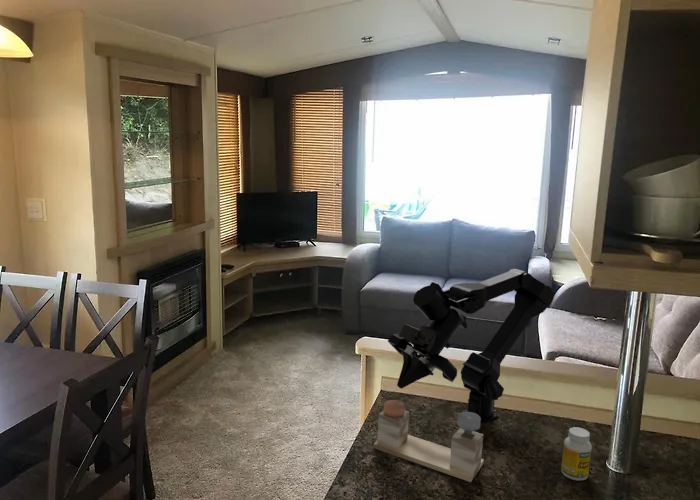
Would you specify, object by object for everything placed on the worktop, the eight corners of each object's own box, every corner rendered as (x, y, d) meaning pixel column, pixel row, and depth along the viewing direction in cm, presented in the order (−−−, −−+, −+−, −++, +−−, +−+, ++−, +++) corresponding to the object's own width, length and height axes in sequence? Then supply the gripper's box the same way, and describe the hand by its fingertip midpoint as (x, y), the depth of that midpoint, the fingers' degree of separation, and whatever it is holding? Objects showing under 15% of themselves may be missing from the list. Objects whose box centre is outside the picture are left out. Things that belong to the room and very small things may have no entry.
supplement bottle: (571, 464, 122) (576, 422, 120) (593, 476, 118) (599, 434, 116) (555, 471, 119) (560, 429, 117) (577, 484, 115) (583, 441, 113)
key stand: (390, 432, 132) (391, 402, 131) (483, 463, 121) (486, 431, 119) (373, 447, 126) (374, 416, 124) (470, 482, 114) (473, 448, 113)
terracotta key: (389, 411, 129) (390, 398, 129) (407, 417, 127) (408, 403, 126) (379, 420, 126) (380, 405, 125) (398, 425, 123) (399, 411, 123)
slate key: (461, 424, 120) (462, 409, 120) (482, 430, 118) (483, 415, 117) (453, 433, 117) (454, 418, 116) (474, 440, 114) (476, 424, 114)
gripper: (395, 300, 133) (355, 353, 129) (451, 323, 117) (406, 384, 114) (420, 327, 139) (381, 378, 135) (475, 352, 123) (433, 411, 119)
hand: (398, 387), depth 125 cm, fingers closed
